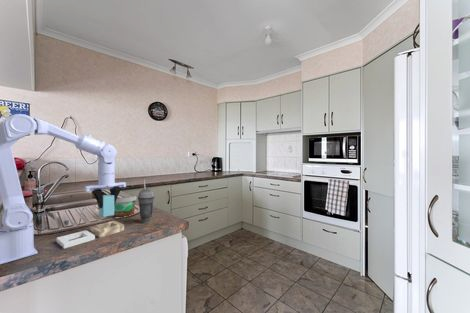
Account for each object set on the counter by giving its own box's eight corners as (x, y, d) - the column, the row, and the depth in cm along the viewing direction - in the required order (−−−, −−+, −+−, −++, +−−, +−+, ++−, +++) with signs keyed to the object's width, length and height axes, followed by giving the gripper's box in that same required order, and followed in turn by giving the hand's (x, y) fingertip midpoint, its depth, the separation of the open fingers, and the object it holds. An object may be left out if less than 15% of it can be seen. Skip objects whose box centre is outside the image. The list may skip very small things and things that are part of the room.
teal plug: (103, 217, 79) (103, 196, 79) (99, 215, 81) (99, 195, 81) (114, 214, 82) (114, 195, 82) (110, 212, 84) (110, 194, 84)
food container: (106, 219, 97) (106, 199, 97) (111, 216, 103) (110, 196, 102) (134, 217, 100) (134, 197, 100) (137, 214, 106) (136, 195, 106)
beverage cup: (146, 225, 89) (145, 180, 89) (134, 223, 92) (133, 180, 92) (157, 220, 96) (157, 178, 96) (146, 218, 98) (146, 178, 98)
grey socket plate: (64, 248, 67) (64, 244, 67) (56, 241, 72) (56, 237, 72) (94, 239, 74) (94, 235, 74) (86, 233, 79) (86, 230, 79)
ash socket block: (99, 237, 75) (99, 231, 75) (90, 232, 81) (90, 226, 81) (124, 230, 83) (124, 224, 83) (114, 226, 88) (114, 220, 88)
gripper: (89, 175, 73) (89, 212, 73) (129, 172, 85) (129, 204, 85) (82, 174, 77) (82, 209, 77) (121, 172, 89) (121, 202, 89)
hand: (106, 206), depth 81 cm, fingers closed on teal plug, 4 cm apart
